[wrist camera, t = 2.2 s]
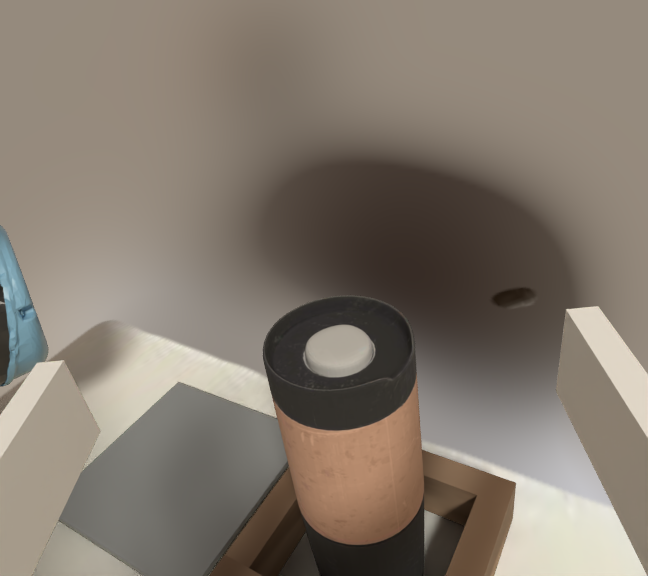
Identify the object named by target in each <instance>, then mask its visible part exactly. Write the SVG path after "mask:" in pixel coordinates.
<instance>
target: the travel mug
mask: <svg viewBox="0 0 648 576" xmlns="http://www.w3.org/2000/svg"><path fill="white" fill-rule="evenodd" d="M263 360H264V365H265V369H266V373H267V377H268V381H269V386H270V390H271V394H272V398H273V402H274V406H275V410H276V414H277V419H278V423H279V427H280V431H281V435H282V439H283V443H284V448H285V452H286V456H287V460H288V464H289V468H290V472H291V477H292V481H293V485H294V489H295V493H296V497H297V501H298V505H299V509H300V512H301V515H302V519H303V522H304V525H305V528H306V531H307V535H308V538H309V541H310V544H311V548H312V551H313V554H314V557H315V560H316V564H317V567H318V570H319V573H320V576H423V573H424V476H423V461H422V446H421V433H420V432H421V431H420V416H419V401H418V387H417V373H416V357H415V340H414V334H413V330H412V327H411V325H410V323H409V322H408V320H407V319H406V317H405V316H404V315H403V314H402V313H401V312H400V311H399V310H397V309H396V308H395V307H393V306H391V305H390V304H387V303H385V302H383V301H380V300H377V299H373V298H369V297H362V296H334V297H328V298H323V299H319V300H315V301H312V302H309V303H306V304H304V305H302V306H299V307H297V308H295V309H293V310H292V311H290V312H289V313H287V314H286V315H284V316H283V317H282V318H280V319H279V320H278V321H277V322H276V323H275V324H274V325H273V327H272V328H271V329H270V331H269V332H268V334H267V336H266V339H265V342H264V346H263Z"/></svg>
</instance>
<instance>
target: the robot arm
mask: <svg viewBox="0 0 648 576" xmlns="http://www.w3.org/2000/svg"><path fill="white" fill-rule="evenodd" d="M47 355H48V345H47V342H46V339H45V336H44V333H43V331H42V328H41V325H40V322H39V320H38V317H37V314H36V312H35V309H34V306H33V303H32V300H31V297H30V295H29V292H28V289H27V286H26V283H25V280H24V278H23V275H22V272H21V270H20V267H19V264H18V262H17V259H16V256H15V253H14V251H13V248H12V246H11V243H10V240H9V238H8V235H7V232H6V231H5V229H4V228H3V227H2V226H0V386H5V385H8V384H10V383H11V381H12V380H13V379H15V378H17V377H20V376H22V375H24V374H26V373H28V372H30V371H31V372H30V374H29V375H28V376H27V378H26V379H25V381H24V382H23V383H22V385H21V386H20V388H19V389H18V391H17V392H16V393H15V395H14V396H13V398H12V399H11V400H10V402H9V403H8V405H7V406H6V408H5V409H4V410H3V412H2V413H1V415H0V576H32V574H33V572H34V570H35V568H36V566H37V564H38V562H39V559H40V557H41V555H42V553H43V551H44V549H45V547H46V545H47V543H48V541H49V538H50V536H51V534H52V532H53V530H54V528H55V526H56V524H57V522H58V520H59V517H60V515H61V513H62V511H63V509H64V507H65V505H66V503H67V501H68V499H69V496H70V494H71V492H72V490H73V488H74V486H75V484H76V482H77V480H78V478H79V475H80V473H81V471H82V469H83V467H84V465H85V463H86V461H87V459H88V457H89V454H90V452H91V450H92V448H93V446H94V444H95V442H96V440H97V438H98V436H99V433H100V429H99V427H98V425H97V423H96V421H95V419H94V417H93V416H92V414H91V412H90V410H89V408H88V406H87V404H86V402H85V400H84V398H83V396H82V394H81V392H80V390H79V388H78V386H77V385H76V383H75V381H74V379H73V377H72V375H71V373H70V371H69V369H68V367H67V365H66V363H65V361H64V360H60V361H50V362H45V360H46V358H47ZM556 392H557V394H558V396H559V398H560V400H561V402H562V404H563V406H564V408H565V410H566V412H567V415H568V417H569V418H570V420H571V423H572V425H573V426H574V429H575V431H576V433H577V434H578V437H579V439H580V441H581V443H582V445H583V447H584V449H585V451H586V453H587V454H588V457H589V459H590V461H591V463H592V465H593V467H594V469H595V471H596V473H597V475H598V477H599V479H600V481H601V483H602V485H603V487H604V489H605V491H606V493H607V495H608V497H609V499H610V501H611V503H612V505H613V507H614V509H615V511H616V513H617V515H618V517H619V519H620V521H621V523H622V525H623V527H624V529H625V531H626V533H627V535H628V537H629V539H630V541H631V543H632V545H633V548H634V550H635V552H636V554H637V556H638V558H639V560H640V562H641V564H642V566H643V568H644V570H645V572H646V574H647V576H648V374H647V373H646V371H645V370H644V369H643V368H642V366H641V365H640V363H639V362H638V361H637V359H636V358H635V356H634V355H633V354H632V352H631V351H630V350H629V348H628V347H627V345H626V344H625V343H624V341H623V340H622V339H621V337H620V336H619V334H618V333H617V332H616V330H615V329H614V327H613V326H612V325H611V323H610V322H609V321H608V319H607V318H606V316H605V315H604V314H603V312H602V311H601V310H600V308H599V307H598V306H597V307H586V308H576V309H566V315H565V323H564V331H563V338H562V347H561V354H560V362H559V370H558V378H557V386H556Z"/></svg>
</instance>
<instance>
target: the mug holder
mask: <svg viewBox="0 0 648 576" xmlns="http://www.w3.org/2000/svg"><path fill="white" fill-rule="evenodd" d="M422 461H423V476H424V509H425V510H427V511H429V512H432V513H434V514H437V515H439V516H442V517H444V518H447V519H449V520H451V521H454V522H456V523H459V524H461V525H464V526H465V527H464V530H463V532H462V535H461V537H460V540H459V543H458V545H457V548H456V550H455V553H454V555H453V558H452V560H451V563H450V565H449V568H448V570H447V573H446V575H445V576H494V574H495V571H496V568H497V565H498V562H499V559H500V556H501V552H502V549H503V546H504V543H505V540H506V537H507V534H508V531H509V528H510V525H511V522H512V519H513V509H514V498H515V488H516V483H515V482H512V481H509V480H506V479H503V478H500V477H498V476H495V475H492V474H489V473H486V472H483V471H481V470H478V469H475V468H472V467H469V466H466V465H463V464H461V463H458V462H455V461H452V460H449V459H446V458H444V457H441V456H438V455H435V454H432V453H429V452H426V451H424V450H422ZM305 532H306V528H305V525H304V522H303V519H302V515H301V512H300V509H299V505H298V501H297V497H296V493H295V489H294V485H293V481H292V477H291V472H290V468H288V469H287V470H286V472H285V473H284V474H283V476H282V477H281V478H280V480H279V481H278V483H277V484H276V485H275V487H274V488H273V489H272V491H271V492H270V493H269V495H268V496H267V498H266V499H265V500H264V502H263V503H262V504H261V506H260V507H259V508H258V510H257V511H256V512H255V514H254V515H253V517H252V518H251V519H250V521H249V522H248V523H247V525H246V526H245V527H244V529H243V530H242V532H241V533H240V534H239V536H238V537H237V538H236V540H235V541H234V542H233V544H232V545H231V547H230V548H229V549H228V551H227V552H226V553H225V555H224V556H223V557H222V559H221V560H220V561H219V563H218V564H217V566H216V567H215V568H214V570H213V571H212V572H211V574H210V575H209V576H278V574H279V573H280V571H281V569H282V568H283V566H284V565H285V563H286V562H287V560H288V558H289V557H290V555H291V554H292V552H293V551H294V549H295V547H296V546H297V544H298V543H299V541H300V540H301V538H302V536H303V535H304V533H305Z"/></svg>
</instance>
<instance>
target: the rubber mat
mask: <svg viewBox="0 0 648 576" xmlns="http://www.w3.org/2000/svg"><path fill="white" fill-rule="evenodd" d="M288 466H289V464H288V460H287V456H286V452H285V448H284V443H283V439H282V435H281V431H280V427H279V423H278V419H276V418H273V417H271V416H268V415H265V414H263V413H260V412H257V411H255V410H252V409H249V408H247V407H244V406H241V405H239V404H236V403H233V402H231V401H228V400H225V399H223V398H220V397H217V396H215V395H212V394H209V393H207V392H204V391H201V390H199V389H196V388H193V387H191V386H188V385H185V384H182V383H180V382H178V383H177V384H176V385H175V386H174V387H172V388H171V389H170V390H169V391H168V392H167V393H166V394H165V395H164V396H163V397H162V398H161V399H160V400H158V401H157V402H156V403H155V404H154V405H153V406H152V407H151V408H150V409H149V410H148V411H147V412H146V413H144V414H143V415H142V416H141V417H140V418H139V419H138V420H137V421H136V422H135V423H134V424H133V425H132V426H130V427H129V428H128V429H127V430H126V431H125V432H124V433H123V434H122V435H121V436H120V437H119V438H118V439H116V440H115V441H114V442H113V443H112V444H111V445H110V446H109V447H108V448H107V449H106V450H105V451H104V452H102V453H101V454H100V455H99V456H98V457H97V458H96V459H95V460H94V461H93V462H92V463H91V464H90V465H89V466H87V467H86V468H85V469H84V470H83V471H82V472H81V473H80V475H79V478H78V480H77V482H76V484H75V486H74V488H73V490H72V492H71V494H70V496H69V499H68V501H67V503H66V505H65V507H64V509H63V511H62V513H61V515H60V517H59V520H58V521H60V522H62V523H63V524H65V525H66V526H68V527H69V528H71V529H72V530H74V531H75V532H77V533H79V534H80V535H82V536H83V537H85V538H86V539H88V540H89V541H91V542H92V543H94V544H95V545H97V546H99V547H100V548H102V549H103V550H105V551H106V552H108V553H109V554H111V555H112V556H114V557H115V558H117V559H119V560H120V561H122V562H123V563H125V564H126V565H128V566H129V567H131V568H132V569H134V570H136V571H137V572H139V573H140V574H142V575H143V576H208V575H209V573H210V572H211V571H212V569H213V568H214V566H215V565H216V564H217V562H218V561H219V560H220V558H221V557H222V556H223V554H224V553H225V552H226V550H227V549H228V547H229V546H230V545H231V543H232V542H233V541H234V539H235V538H236V537H237V535H238V534H239V533H240V531H241V530H242V528H243V527H244V526H245V524H246V523H247V522H248V520H249V519H250V518H251V516H252V515H253V514H254V512H255V511H256V509H257V508H258V507H259V505H260V504H261V503H262V501H263V500H264V499H265V497H266V496H267V495H268V493H269V492H270V490H271V489H272V488H273V486H274V485H275V484H276V482H277V481H278V480H279V478H280V477H281V476H282V474H283V473H284V471H285V470H286V469H287V467H288Z"/></svg>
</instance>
